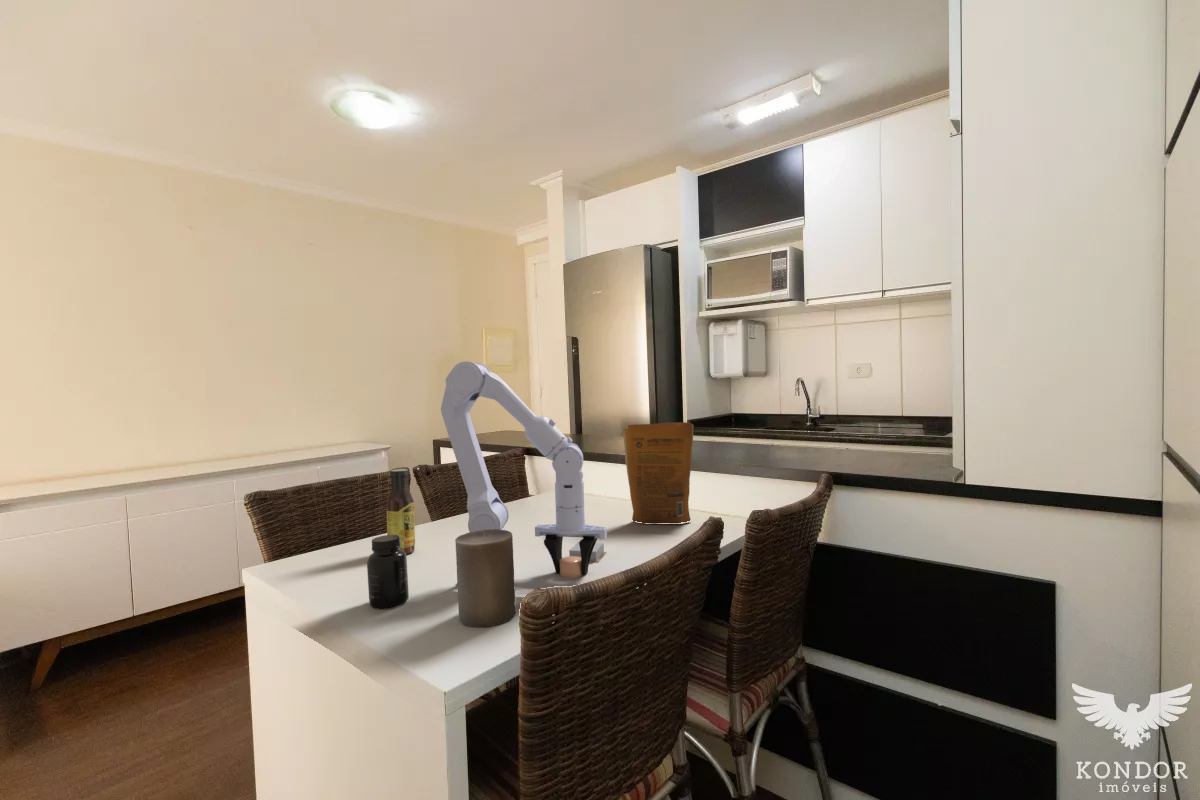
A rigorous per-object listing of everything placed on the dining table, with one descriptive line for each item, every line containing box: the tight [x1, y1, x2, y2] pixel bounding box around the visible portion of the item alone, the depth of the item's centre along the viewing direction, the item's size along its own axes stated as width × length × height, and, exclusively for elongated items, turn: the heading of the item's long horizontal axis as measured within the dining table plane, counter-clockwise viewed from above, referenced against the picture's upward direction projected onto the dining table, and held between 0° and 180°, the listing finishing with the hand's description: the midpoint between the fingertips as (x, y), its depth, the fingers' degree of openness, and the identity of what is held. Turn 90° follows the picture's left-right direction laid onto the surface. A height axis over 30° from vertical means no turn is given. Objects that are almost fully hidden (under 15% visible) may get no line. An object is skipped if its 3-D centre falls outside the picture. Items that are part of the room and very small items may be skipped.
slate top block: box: [568, 541, 605, 561], centre depth 121 cm, size 6×6×2 cm
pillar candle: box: [454, 529, 517, 628], centre depth 95 cm, size 10×10×15 cm
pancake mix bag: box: [622, 421, 694, 523], centre depth 153 cm, size 7×19×28 cm, turn 79°
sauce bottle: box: [386, 468, 416, 555], centre depth 133 cm, size 7×6×20 cm
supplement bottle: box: [366, 534, 410, 610], centre depth 102 cm, size 7×7×12 cm
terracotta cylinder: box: [559, 555, 583, 578], centre depth 111 cm, size 5×5×4 cm
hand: (571, 572), depth 111 cm, fingers closed on terracotta cylinder, 5 cm apart
